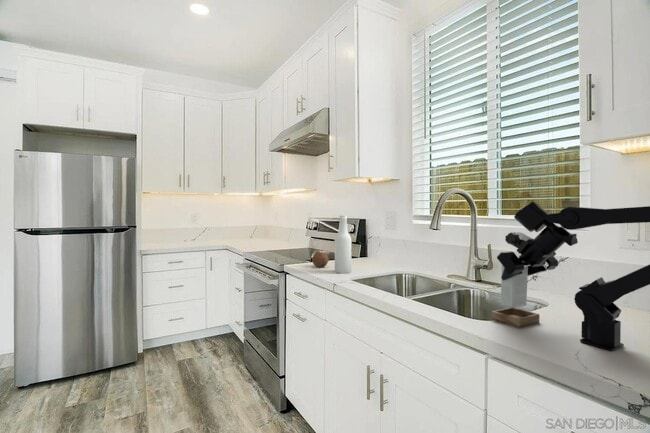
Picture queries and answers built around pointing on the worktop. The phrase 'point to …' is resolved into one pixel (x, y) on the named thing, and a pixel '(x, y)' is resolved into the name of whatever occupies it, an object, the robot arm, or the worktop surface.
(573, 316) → the worktop surface
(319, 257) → the onion
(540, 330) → the worktop surface
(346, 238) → the alcohol
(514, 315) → the walnut tray
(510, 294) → the skincare box
